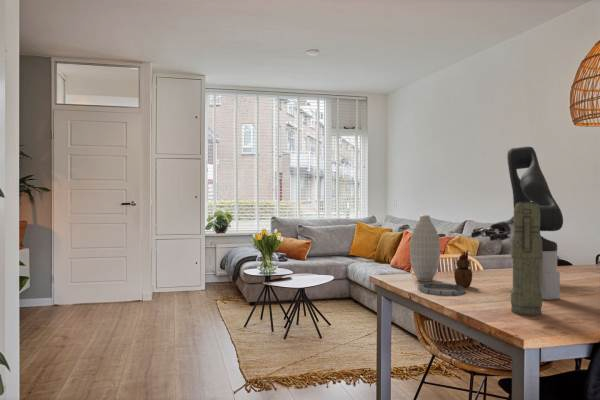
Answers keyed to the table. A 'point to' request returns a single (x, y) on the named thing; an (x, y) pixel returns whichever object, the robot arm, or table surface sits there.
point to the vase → (424, 249)
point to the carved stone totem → (526, 260)
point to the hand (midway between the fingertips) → (481, 236)
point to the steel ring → (426, 286)
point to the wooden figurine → (463, 271)
